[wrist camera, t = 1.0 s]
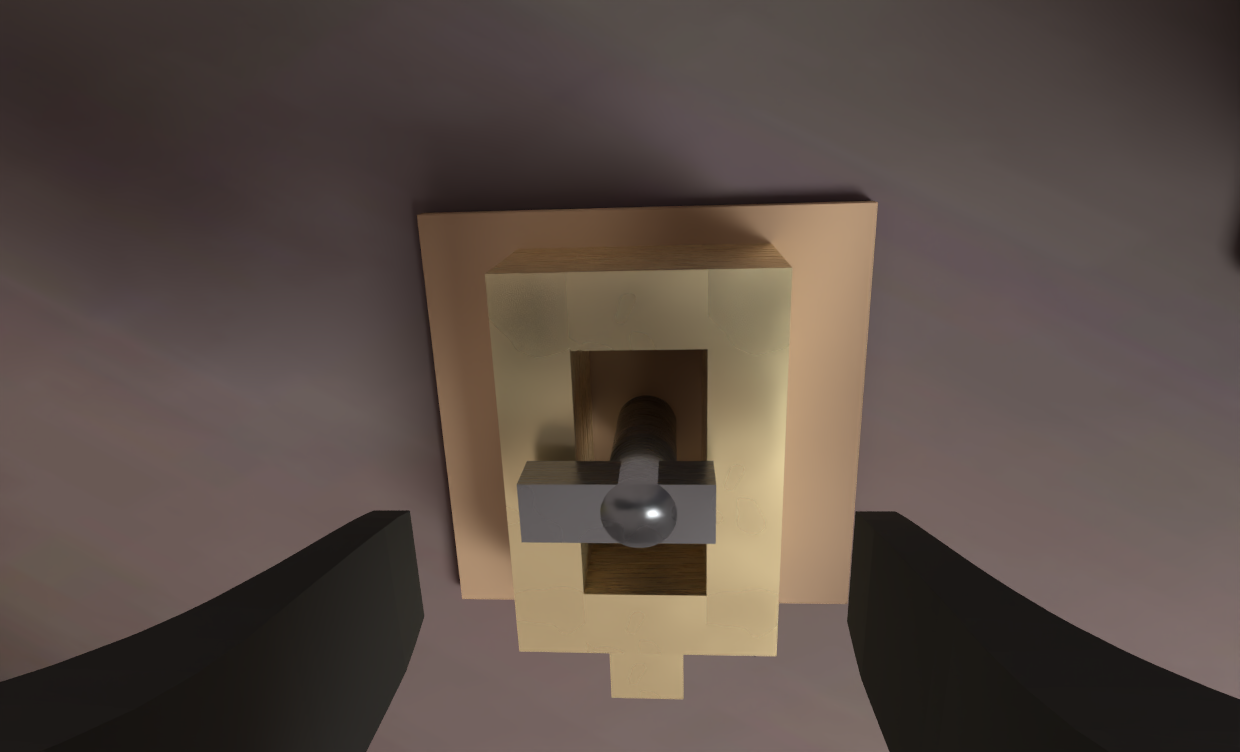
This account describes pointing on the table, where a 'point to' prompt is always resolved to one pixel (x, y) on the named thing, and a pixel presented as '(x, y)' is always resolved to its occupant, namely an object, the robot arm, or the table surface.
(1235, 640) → the table surface
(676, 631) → the gold hollow block
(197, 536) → the table surface
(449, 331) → the stake base
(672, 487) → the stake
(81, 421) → the table surface
